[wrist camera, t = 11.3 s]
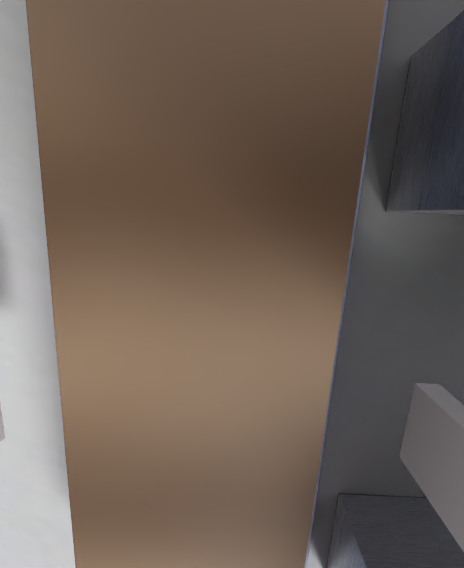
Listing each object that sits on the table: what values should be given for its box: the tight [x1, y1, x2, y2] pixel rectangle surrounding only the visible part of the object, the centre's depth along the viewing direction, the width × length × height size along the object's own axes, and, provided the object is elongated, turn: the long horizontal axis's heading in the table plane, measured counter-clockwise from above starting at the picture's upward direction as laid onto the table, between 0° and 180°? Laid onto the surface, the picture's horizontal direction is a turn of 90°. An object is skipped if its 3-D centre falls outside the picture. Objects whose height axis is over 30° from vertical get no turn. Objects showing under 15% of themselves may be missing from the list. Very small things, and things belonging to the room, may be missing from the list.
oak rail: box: [26, 0, 386, 568], centre depth 9 cm, size 26×5×6 cm, turn 177°
